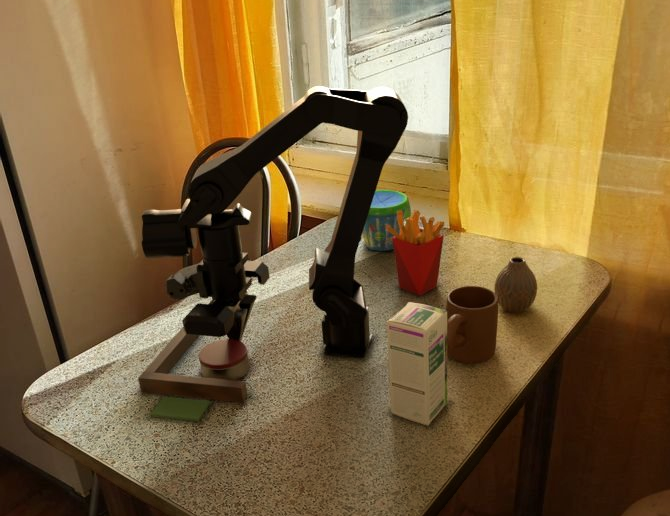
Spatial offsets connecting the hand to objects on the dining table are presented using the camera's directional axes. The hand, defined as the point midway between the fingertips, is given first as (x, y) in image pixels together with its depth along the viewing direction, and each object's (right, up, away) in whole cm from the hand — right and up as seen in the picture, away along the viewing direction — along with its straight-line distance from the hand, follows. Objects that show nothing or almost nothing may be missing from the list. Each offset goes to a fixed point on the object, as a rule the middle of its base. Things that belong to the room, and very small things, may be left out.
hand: (236, 344), depth 103 cm
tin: (-1, -4, -3) cm, 5 cm away
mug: (+35, -2, -3) cm, 35 cm away
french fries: (+29, +8, +17) cm, 35 cm away
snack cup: (+24, +18, +35) cm, 46 cm away
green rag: (-5, -8, -11) cm, 15 cm away
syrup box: (+27, -8, -13) cm, 31 cm away
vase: (+45, +5, +10) cm, 47 cm away
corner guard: (-3, -3, -2) cm, 4 cm away
